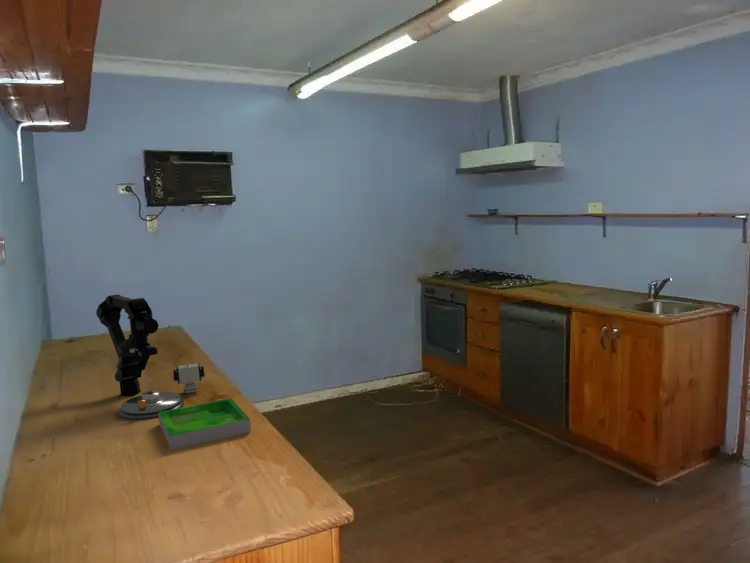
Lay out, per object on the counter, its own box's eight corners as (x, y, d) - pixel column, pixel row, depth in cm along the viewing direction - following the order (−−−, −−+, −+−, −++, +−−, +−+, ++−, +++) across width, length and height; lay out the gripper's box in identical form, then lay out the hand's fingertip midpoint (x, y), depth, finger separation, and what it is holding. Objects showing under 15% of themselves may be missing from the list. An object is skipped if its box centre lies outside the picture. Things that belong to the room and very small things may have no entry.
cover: (147, 405, 208) (146, 395, 208) (140, 402, 213) (139, 392, 212) (162, 400, 213) (162, 391, 212) (155, 397, 217) (154, 388, 216)
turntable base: (106, 420, 202) (106, 417, 202) (135, 399, 225) (135, 396, 225) (170, 418, 202) (169, 415, 201) (192, 397, 224) (192, 394, 224)
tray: (171, 451, 174) (169, 436, 174) (159, 425, 196) (158, 412, 196) (251, 433, 186) (249, 418, 185) (231, 411, 208) (230, 397, 207)
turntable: (136, 419, 198) (135, 405, 198) (111, 407, 213) (110, 394, 212) (191, 402, 214) (190, 389, 213) (164, 392, 228) (163, 380, 227)
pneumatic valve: (205, 391, 231) (203, 362, 229) (175, 395, 227) (172, 366, 225) (204, 387, 236) (202, 359, 234) (175, 392, 232) (172, 363, 230)
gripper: (108, 331, 222) (113, 370, 224) (126, 338, 208) (130, 379, 210) (137, 326, 229) (141, 364, 231) (156, 332, 216) (160, 372, 218)
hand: (142, 369), depth 222 cm, fingers closed
